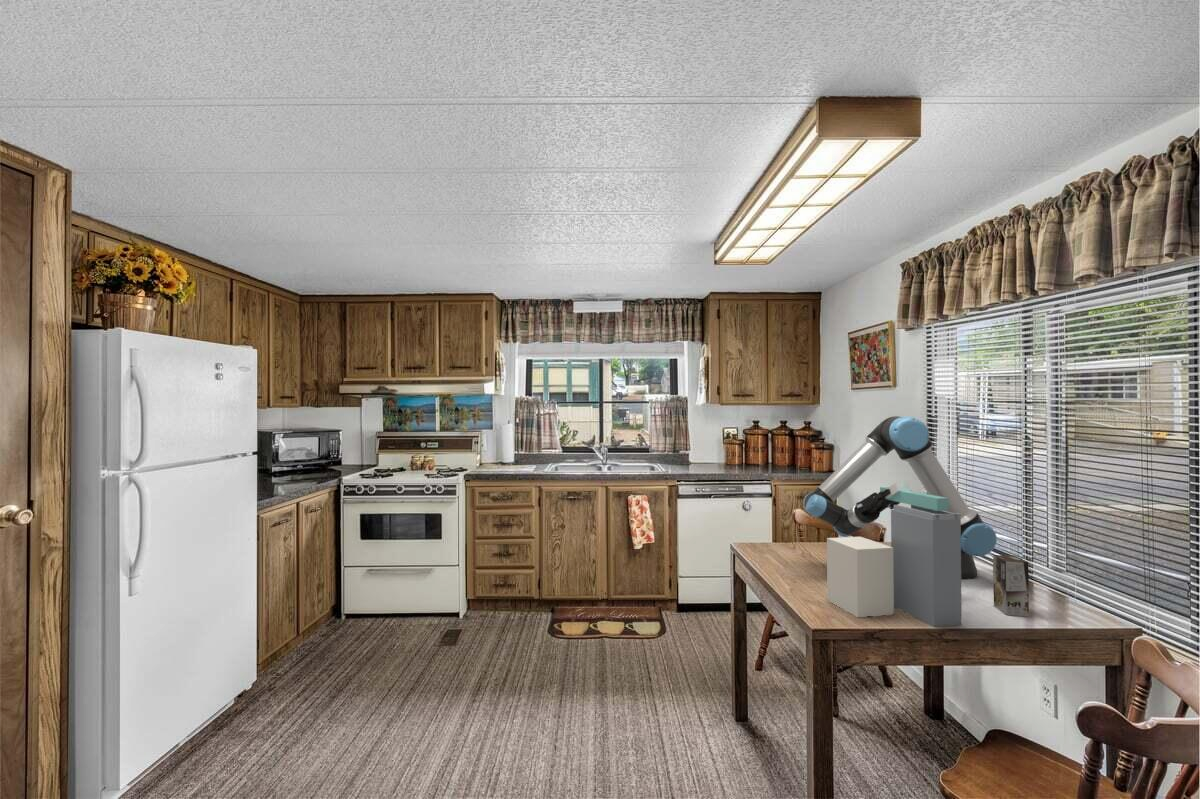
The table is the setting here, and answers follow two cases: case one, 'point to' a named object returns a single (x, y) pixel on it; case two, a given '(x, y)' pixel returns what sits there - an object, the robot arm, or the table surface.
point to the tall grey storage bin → (927, 564)
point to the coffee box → (1011, 585)
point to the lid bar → (919, 499)
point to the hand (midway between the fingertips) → (903, 486)
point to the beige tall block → (860, 576)
